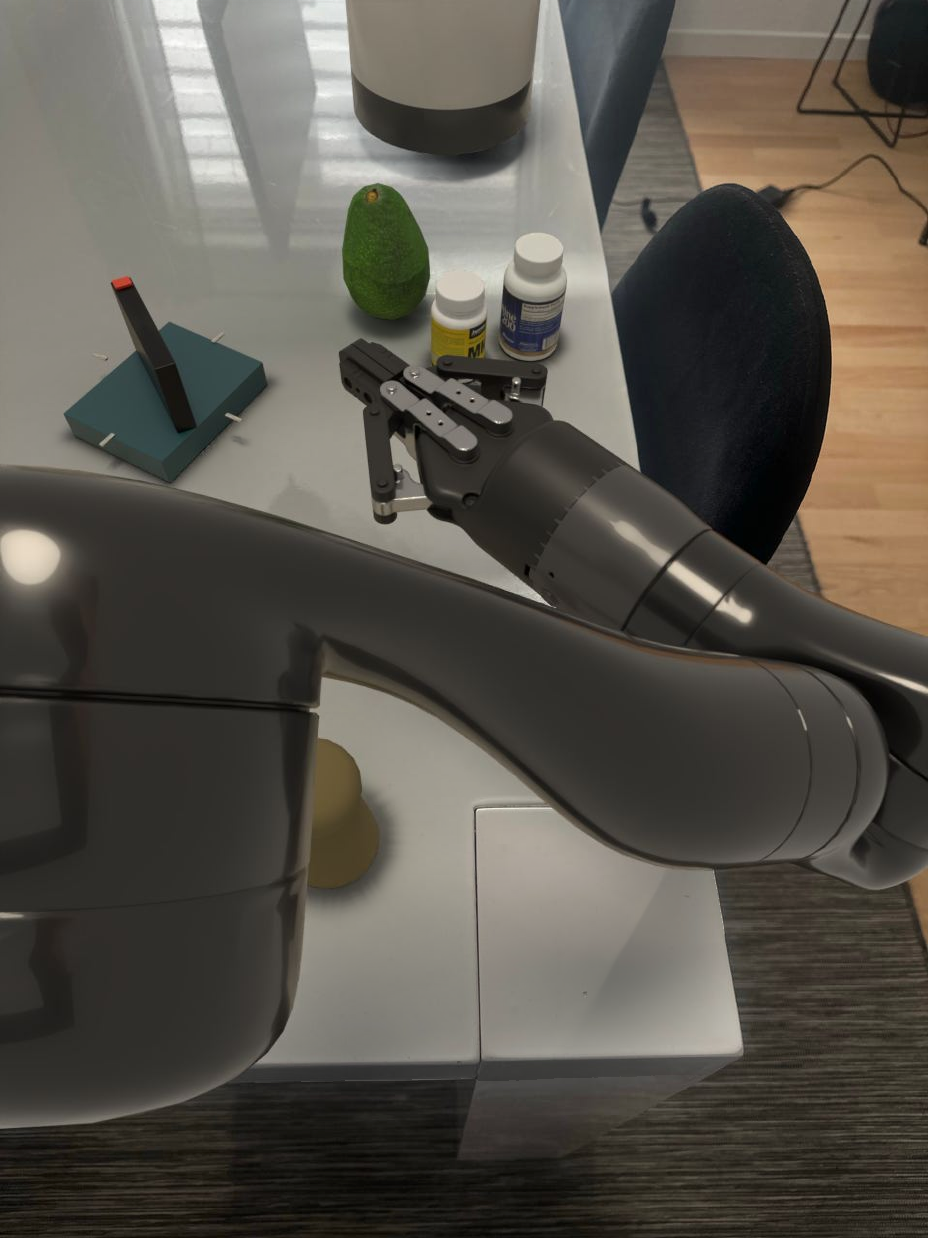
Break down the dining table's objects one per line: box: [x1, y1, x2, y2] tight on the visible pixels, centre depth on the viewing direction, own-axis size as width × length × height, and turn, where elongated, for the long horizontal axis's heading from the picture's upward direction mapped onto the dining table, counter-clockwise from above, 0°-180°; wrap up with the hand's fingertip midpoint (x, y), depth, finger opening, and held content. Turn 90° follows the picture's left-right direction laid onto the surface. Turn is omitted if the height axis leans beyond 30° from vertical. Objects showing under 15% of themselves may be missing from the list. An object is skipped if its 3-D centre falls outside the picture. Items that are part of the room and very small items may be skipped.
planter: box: [344, 0, 541, 156], centre depth 86 cm, size 19×19×18 cm
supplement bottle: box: [430, 269, 488, 384], centre depth 71 cm, size 5×5×8 cm
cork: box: [307, 737, 380, 890], centre depth 47 cm, size 6×6×11 cm
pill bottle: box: [498, 232, 568, 362], centre depth 72 cm, size 5×5×10 cm
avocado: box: [341, 182, 431, 321], centre depth 73 cm, size 8×8×12 cm
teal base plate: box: [63, 321, 268, 484], centre depth 69 cm, size 15×15×3 cm
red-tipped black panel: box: [110, 275, 197, 433], centre depth 65 cm, size 11×2×7 cm, turn 29°
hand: (349, 357), depth 46 cm, fingers closed
